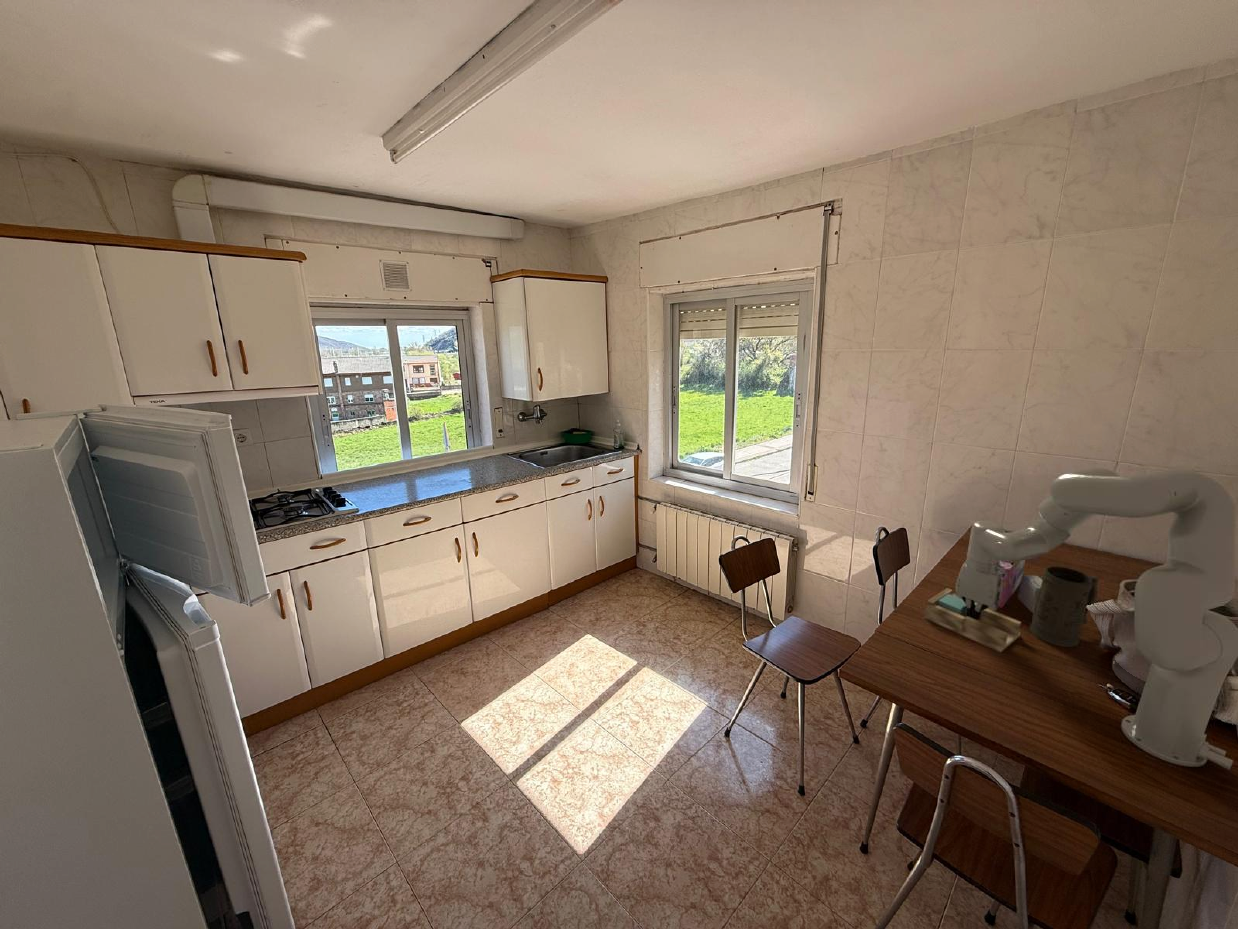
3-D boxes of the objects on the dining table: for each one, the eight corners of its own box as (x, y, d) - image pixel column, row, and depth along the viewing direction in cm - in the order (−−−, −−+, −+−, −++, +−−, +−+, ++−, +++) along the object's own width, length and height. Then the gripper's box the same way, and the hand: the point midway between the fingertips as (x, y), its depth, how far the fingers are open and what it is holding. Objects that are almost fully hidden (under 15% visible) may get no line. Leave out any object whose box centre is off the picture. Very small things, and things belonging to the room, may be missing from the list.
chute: (1019, 636, 141) (1023, 618, 140) (1000, 652, 135) (1004, 633, 133) (944, 604, 158) (947, 587, 156) (924, 617, 151) (927, 600, 150)
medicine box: (1047, 613, 150) (1053, 588, 148) (1031, 612, 151) (1036, 587, 149) (1032, 599, 158) (1038, 575, 155) (1016, 598, 159) (1021, 574, 156)
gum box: (995, 572, 174) (1001, 537, 170) (1023, 580, 169) (1030, 544, 165) (972, 598, 160) (979, 561, 156) (1002, 608, 154) (1010, 569, 150)
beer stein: (1058, 651, 134) (1078, 585, 129) (1018, 628, 144) (1035, 566, 139) (1098, 642, 138) (1119, 578, 133) (1056, 621, 148) (1074, 560, 143)
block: (967, 616, 149) (970, 602, 148) (957, 623, 146) (960, 609, 145) (946, 607, 154) (948, 593, 153) (936, 614, 151) (938, 600, 150)
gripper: (1019, 570, 136) (1008, 627, 141) (959, 550, 148) (951, 604, 154) (1007, 578, 132) (996, 637, 138) (947, 558, 145) (938, 612, 150)
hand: (972, 619), depth 146 cm, fingers closed
